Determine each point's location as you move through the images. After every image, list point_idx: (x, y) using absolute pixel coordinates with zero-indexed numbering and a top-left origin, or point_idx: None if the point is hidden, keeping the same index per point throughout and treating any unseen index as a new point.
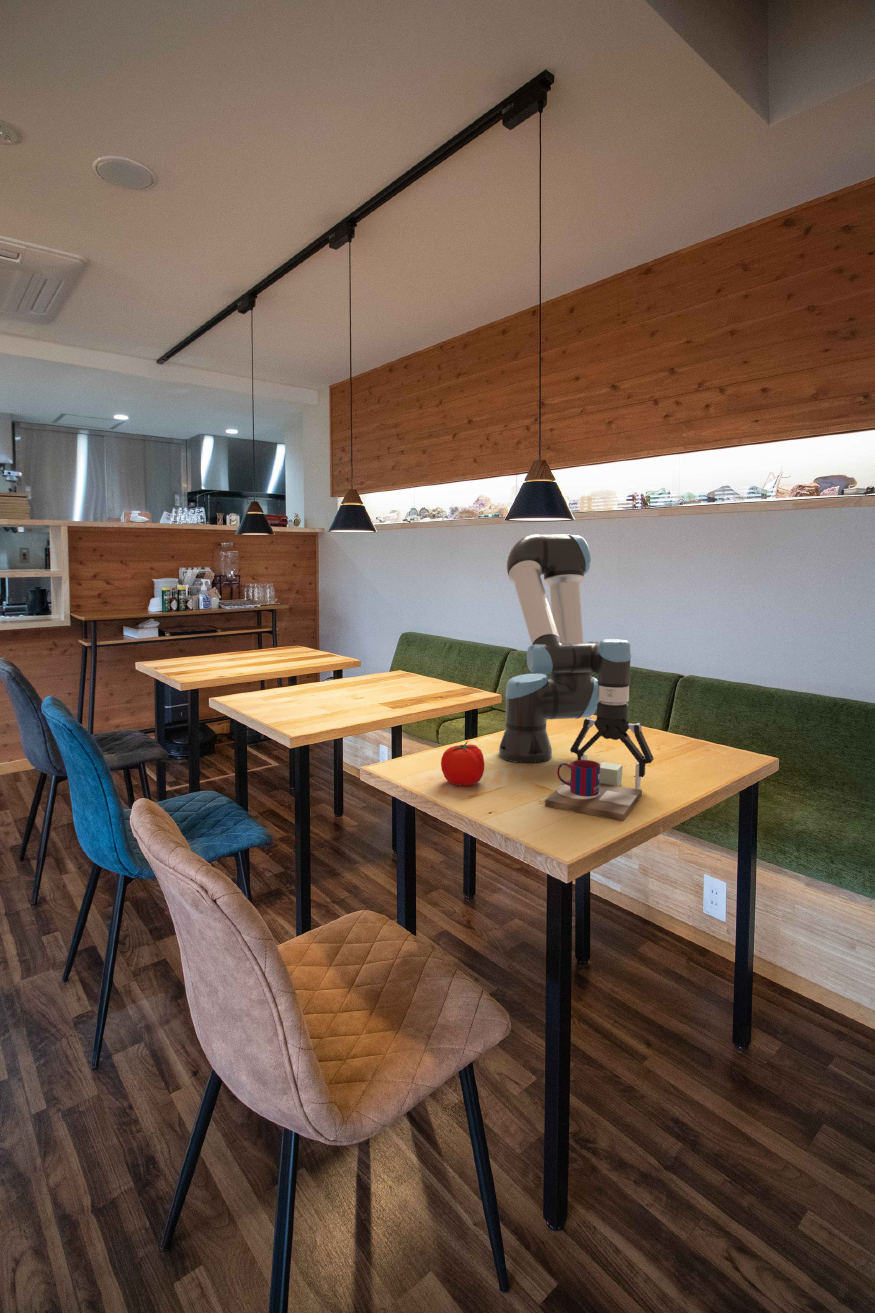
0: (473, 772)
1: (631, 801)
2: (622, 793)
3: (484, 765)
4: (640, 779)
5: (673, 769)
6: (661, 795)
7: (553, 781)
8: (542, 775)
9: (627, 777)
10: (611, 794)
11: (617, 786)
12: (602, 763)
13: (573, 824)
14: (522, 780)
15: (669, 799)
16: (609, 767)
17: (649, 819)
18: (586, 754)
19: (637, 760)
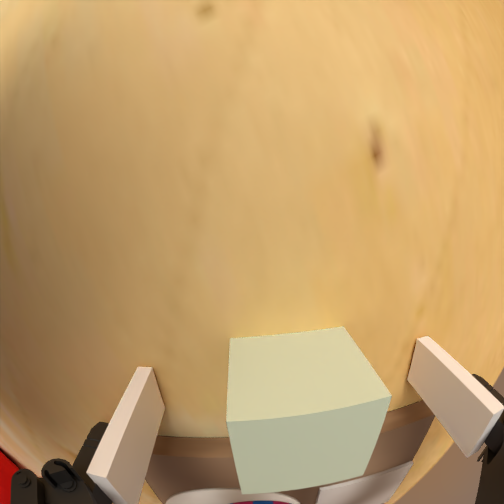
0: None
1: (394, 490)
2: (372, 479)
3: (5, 490)
4: (449, 359)
5: (450, 3)
6: (478, 347)
7: (79, 424)
8: (17, 378)
9: (348, 198)
10: (339, 498)
11: None
12: (239, 446)
13: None
14: (29, 432)
15: (489, 361)
16: (312, 474)
17: (419, 478)
18: (102, 478)
19: (484, 466)
